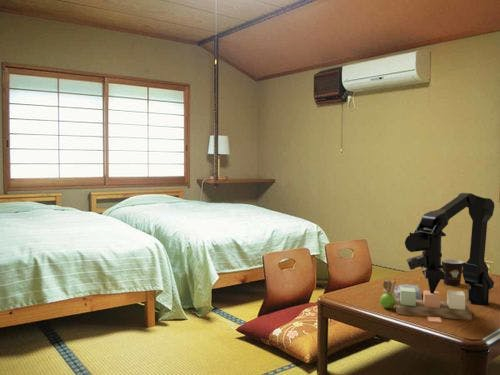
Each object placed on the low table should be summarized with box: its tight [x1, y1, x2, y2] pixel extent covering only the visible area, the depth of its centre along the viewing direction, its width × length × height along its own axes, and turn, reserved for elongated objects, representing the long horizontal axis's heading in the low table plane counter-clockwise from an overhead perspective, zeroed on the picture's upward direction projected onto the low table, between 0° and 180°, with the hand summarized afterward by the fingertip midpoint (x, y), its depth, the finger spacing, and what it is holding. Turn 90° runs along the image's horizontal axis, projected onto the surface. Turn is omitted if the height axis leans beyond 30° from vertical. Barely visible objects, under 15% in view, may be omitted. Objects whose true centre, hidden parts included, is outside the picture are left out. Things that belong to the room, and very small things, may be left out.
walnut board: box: [394, 297, 473, 321], centre depth 159 cm, size 24×11×2 cm, turn 74°
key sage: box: [400, 287, 416, 306], centre depth 160 cm, size 5×5×5 cm
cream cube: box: [446, 289, 466, 310], centre depth 156 cm, size 5×5×5 cm
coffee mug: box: [441, 258, 464, 287], centre depth 195 cm, size 12×9×10 cm
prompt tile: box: [427, 316, 443, 324], centre depth 150 cm, size 4×4×1 cm
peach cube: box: [422, 290, 441, 308], centre depth 158 cm, size 5×5×5 cm
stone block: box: [393, 283, 423, 300], centre depth 178 cm, size 12×5×10 cm
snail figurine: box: [379, 277, 397, 309], centre depth 162 cm, size 5×6×12 cm
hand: (431, 292), depth 158 cm, fingers closed, pressing on peach cube
